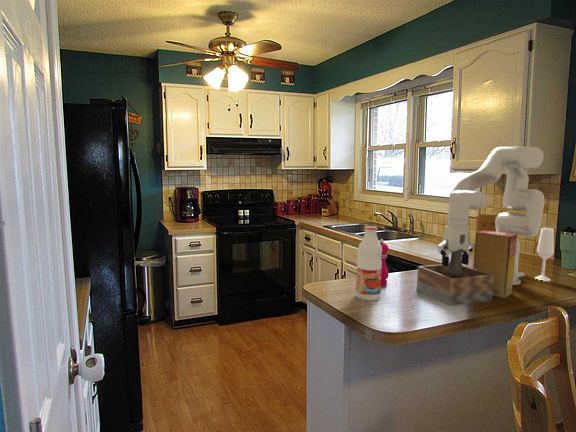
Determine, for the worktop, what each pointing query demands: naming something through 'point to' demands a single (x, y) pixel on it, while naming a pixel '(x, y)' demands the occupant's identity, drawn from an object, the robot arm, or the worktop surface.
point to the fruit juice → (369, 266)
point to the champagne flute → (545, 249)
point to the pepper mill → (384, 263)
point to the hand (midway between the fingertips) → (455, 265)
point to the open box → (455, 285)
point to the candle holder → (456, 262)
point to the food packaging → (496, 259)
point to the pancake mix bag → (485, 223)
